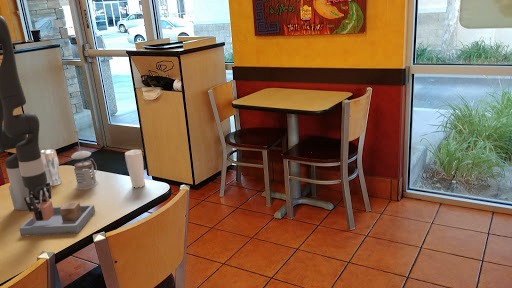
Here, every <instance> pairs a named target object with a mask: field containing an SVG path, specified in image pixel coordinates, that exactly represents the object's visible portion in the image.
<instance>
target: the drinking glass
mask: <svg viewBox="0 0 512 288" xmlns="http://www.w3.org/2000/svg"><path fill="white" fill-rule="evenodd" d="M124 157H125V158H124V159H125V162H126V167H127V171H128V174H129V178H130V183H131V186H132V187H133V188H134V187H135V188H134V189H139V188H138V187H140V188H143V187H144V186H145V185H146V182H145V169H144V159H143V153H142V150H141V149H131V150H128V151H126V152H125V153H124ZM142 186H143V187H142Z"/></svg>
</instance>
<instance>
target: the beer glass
mask: <svg viewBox="0 0 512 288" xmlns="http://www.w3.org/2000/svg"><path fill="white" fill-rule="evenodd" d="M40 154H41V158H42V160H43V163H44V167H45V172H46V176H47V183H50V186H51V187H57V186H59V185H61V184H62V182H63V181H62V178H61V176H60V166H59V165H60V164H59V157H58V155H57V151H56V149H55V148H54V149H53V148H52V149H51V148H50V149H45V150H40Z"/></svg>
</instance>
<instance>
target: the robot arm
mask: <svg viewBox="0 0 512 288" xmlns="http://www.w3.org/2000/svg"><path fill="white" fill-rule="evenodd" d="M10 31H11V30H10V29H9V26H8V22H7V20H6V19H5V18H4V16H2V15H0V46H1V48H2V59H1V62H0V151H8V150H9V151H10V150H14V149H15V153H13V154H12V155H10V156H8V157H7V158H6V159H5V160H4V164H5V169H6V173H7V176H8V177H7V178H8V180H9V184H10V185H9V186H8V191H9V195H10V197H11V202H12V206H13V209H14V210H18V211H29V213H32V212H34V214H35V218H36V220H37V221H42V220H43V216H42V212H41V203H42V202H48V201H51V200H52V190H51V189H52V188H51V187H52V186H50V183H47V176H46V172H45V167H44V163H43V160H42V158H41V154H40V152H41V150H40V146H39V145H40V144H39V139H40V138H39V134H40V120H39V118H38V116H37V114H35V113H34V112H30V111H29V112H25V113H19V114H15V115H14V111H15V110H16V109H19V108H20V107H23V106H24V105H26V103H27V100H26V95H25V93H24V90H23V87H22V83H21V81H20V76H19V72H18V68H17V67H18V66H17V62H16V61H17V60H16V55H15V51H14V46H13V41H12V36H11V32H10ZM36 204H37V205H38V207H37V206H36Z"/></svg>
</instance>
